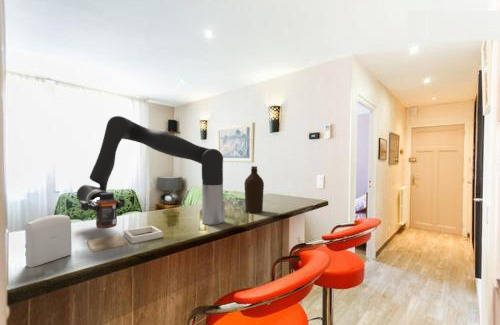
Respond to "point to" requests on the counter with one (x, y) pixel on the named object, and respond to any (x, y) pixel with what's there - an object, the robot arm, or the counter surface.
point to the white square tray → (133, 239)
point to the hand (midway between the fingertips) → (108, 207)
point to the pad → (106, 242)
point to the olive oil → (254, 192)
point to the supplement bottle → (106, 211)
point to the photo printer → (47, 239)
